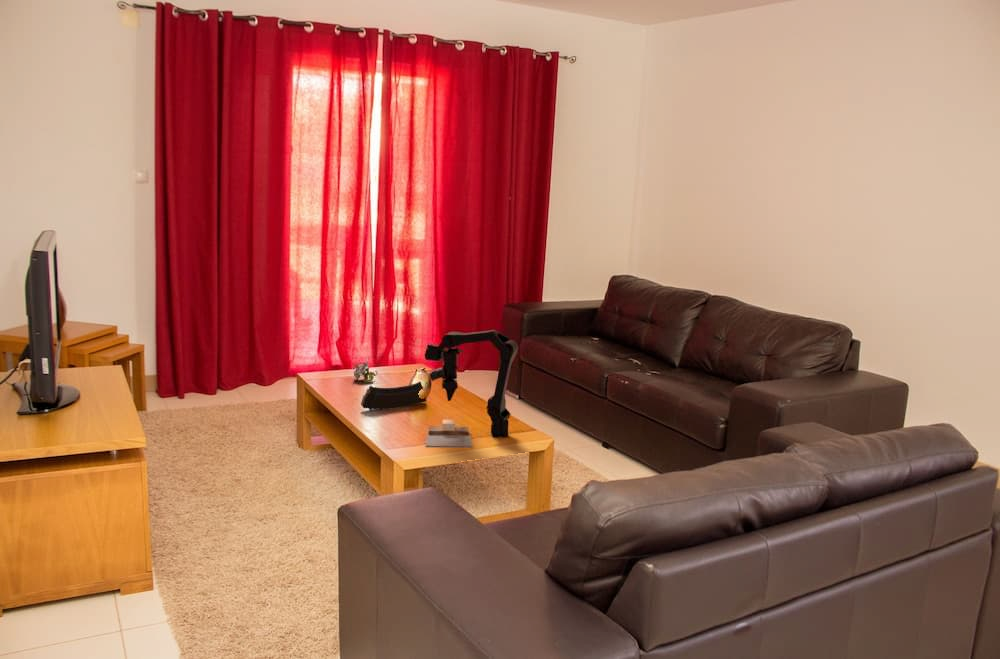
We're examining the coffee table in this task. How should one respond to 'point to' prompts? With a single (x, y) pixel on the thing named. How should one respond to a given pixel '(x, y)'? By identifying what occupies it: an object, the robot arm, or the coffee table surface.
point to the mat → (448, 441)
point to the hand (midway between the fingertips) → (449, 399)
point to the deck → (438, 431)
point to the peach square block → (448, 425)
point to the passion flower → (363, 372)
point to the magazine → (392, 397)
